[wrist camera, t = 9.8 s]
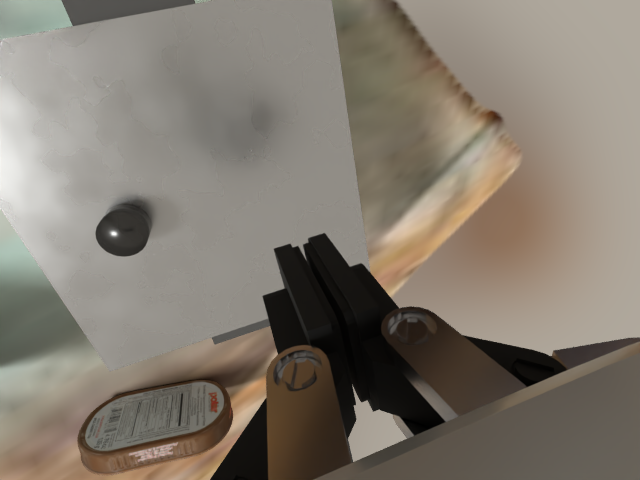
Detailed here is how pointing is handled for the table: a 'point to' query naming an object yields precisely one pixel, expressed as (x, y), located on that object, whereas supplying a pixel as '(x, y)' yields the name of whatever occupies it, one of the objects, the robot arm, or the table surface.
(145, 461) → the tin
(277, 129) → the lid
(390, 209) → the table surface
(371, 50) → the table surface
